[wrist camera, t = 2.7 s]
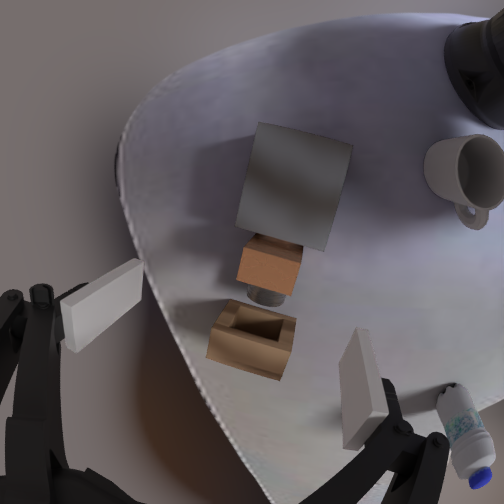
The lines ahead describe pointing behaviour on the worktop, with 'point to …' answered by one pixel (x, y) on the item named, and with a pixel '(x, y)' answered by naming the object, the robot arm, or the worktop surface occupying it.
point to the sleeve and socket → (279, 235)
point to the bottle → (466, 436)
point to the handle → (269, 269)
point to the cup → (467, 175)
